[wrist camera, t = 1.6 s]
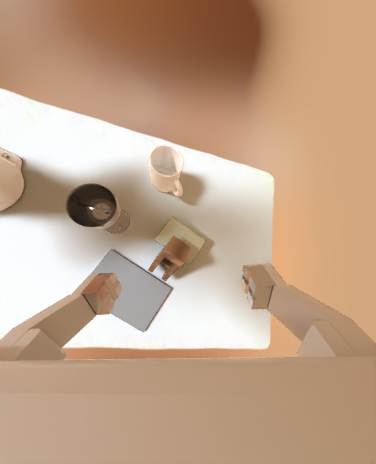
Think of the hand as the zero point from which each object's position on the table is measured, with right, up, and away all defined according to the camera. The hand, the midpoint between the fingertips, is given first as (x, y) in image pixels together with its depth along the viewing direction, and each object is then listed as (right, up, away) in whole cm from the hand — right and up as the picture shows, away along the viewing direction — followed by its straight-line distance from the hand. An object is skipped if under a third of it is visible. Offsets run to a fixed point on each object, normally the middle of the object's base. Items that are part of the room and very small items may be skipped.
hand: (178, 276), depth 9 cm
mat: (-16, -13, +29) cm, 35 cm away
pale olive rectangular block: (-2, 0, +33) cm, 33 cm away
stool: (-5, -5, +32) cm, 33 cm away
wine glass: (-20, +6, +30) cm, 37 cm away
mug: (-6, +18, +35) cm, 39 cm away
